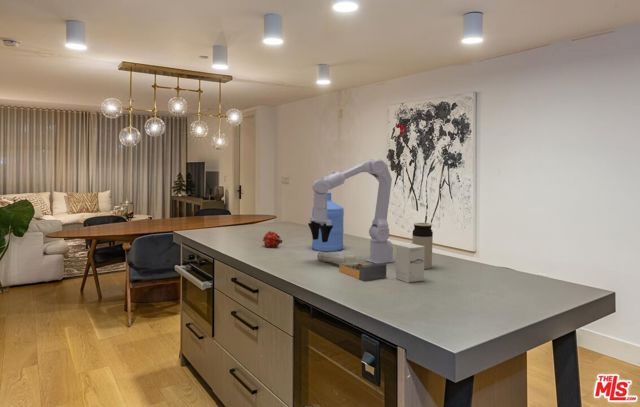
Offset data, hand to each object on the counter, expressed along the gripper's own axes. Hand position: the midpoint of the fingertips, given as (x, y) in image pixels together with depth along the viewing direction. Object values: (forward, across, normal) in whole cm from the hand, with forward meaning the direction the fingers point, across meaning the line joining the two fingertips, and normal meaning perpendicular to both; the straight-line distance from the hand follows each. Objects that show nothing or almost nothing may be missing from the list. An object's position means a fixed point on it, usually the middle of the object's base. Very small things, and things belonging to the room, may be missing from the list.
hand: (320, 240), depth 182 cm
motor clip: (+10, +24, +4) cm, 26 cm away
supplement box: (+10, +39, +15) cm, 43 cm away
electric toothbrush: (+10, +6, +4) cm, 13 cm away
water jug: (+10, -27, +21) cm, 36 cm away
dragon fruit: (+10, -46, -1) cm, 47 cm away
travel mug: (+10, +26, +33) cm, 43 cm away
